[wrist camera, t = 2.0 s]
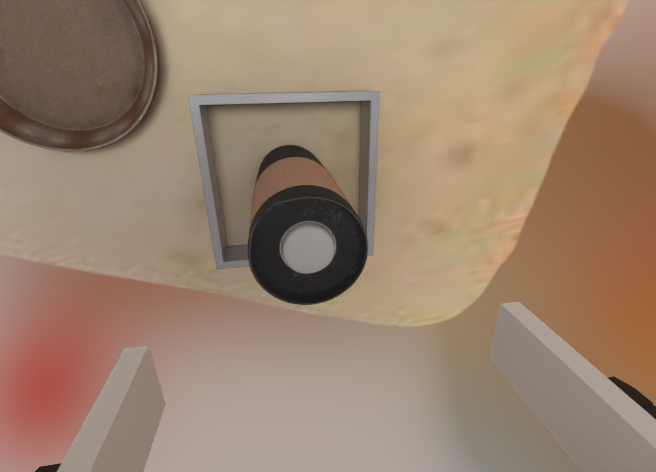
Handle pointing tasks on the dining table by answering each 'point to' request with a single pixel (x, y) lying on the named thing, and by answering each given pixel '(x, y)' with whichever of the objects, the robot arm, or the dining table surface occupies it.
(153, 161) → the dining table surface
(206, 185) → the grey open square frame
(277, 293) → the travel mug
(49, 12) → the plant saucer
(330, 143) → the dining table surface
